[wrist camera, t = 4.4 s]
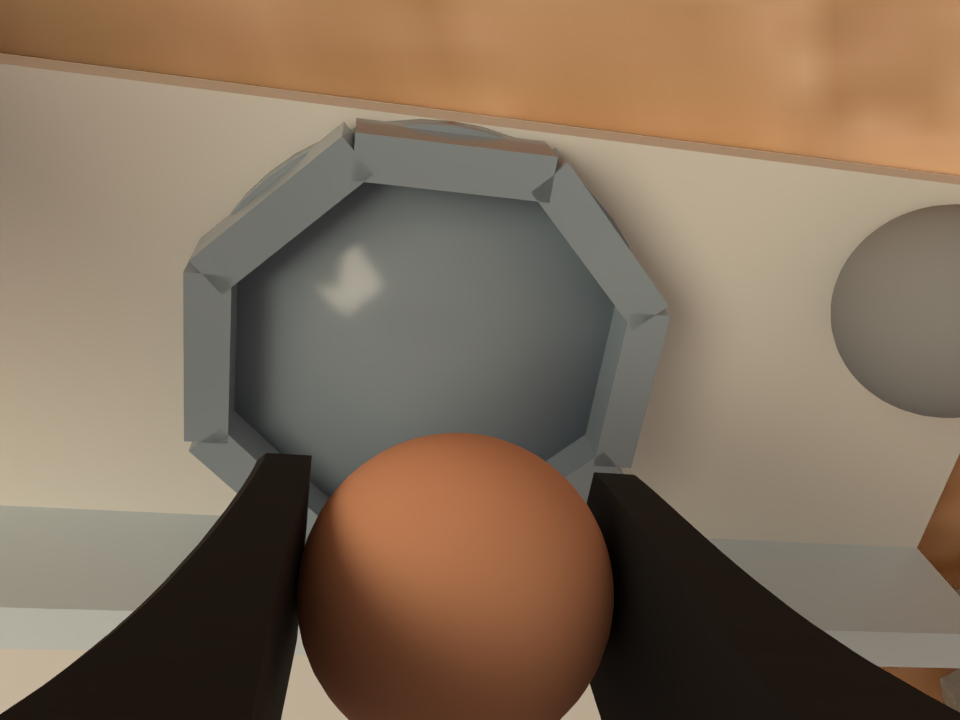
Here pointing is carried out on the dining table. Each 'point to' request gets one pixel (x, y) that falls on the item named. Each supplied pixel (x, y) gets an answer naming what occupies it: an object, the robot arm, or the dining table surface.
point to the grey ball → (904, 312)
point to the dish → (417, 309)
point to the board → (590, 152)
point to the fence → (171, 538)
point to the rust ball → (455, 586)
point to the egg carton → (951, 686)
